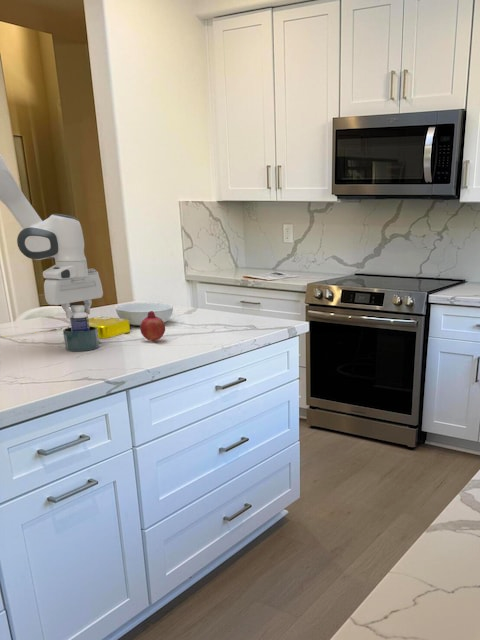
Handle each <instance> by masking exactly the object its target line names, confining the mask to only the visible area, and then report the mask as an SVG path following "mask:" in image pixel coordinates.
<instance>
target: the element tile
mask: <svg viewBox="0 0 480 640" xmlns="http://www.w3.org/2000/svg"><path fill="white" fill-rule="evenodd" d="M88 320H89V326H91V327H96V328H97V331H98V339H99V340H100V339H101V340H102V339H103V340H104V339H110V338H113V337H117V336H119V335H123V334H124V335H125V334H127V333H128V334H129V333H130V332H131V324H130V323H129V320H128V319H120V318H119V317H118V318H117V317H109V316H103V315H98V316H94V317H88Z"/></svg>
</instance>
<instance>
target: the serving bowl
mask: <svg viewBox="0 0 480 640" xmlns="http://www.w3.org/2000/svg"><path fill="white" fill-rule="evenodd" d="M115 311H116V315H117V316H118V318H120V319H128V320H129V323H130V326H131V325H132V326H136V327H141V323H142V321H143V320H144V319H145V318H146V317H147V316H148V312H150V311H153V312H154V314H155V316H156V317H159V318H160V319H162V321H163V322H164V323H166V322H168V321H169V320H170V318H171V317H172V315H173V311H174V306H173V305H172V304H169V303H163V302H155V301H154V302H153V301H152V302H150V301H147V302H145V301H143V302H131V303H124V304H119V305H117V306H115Z"/></svg>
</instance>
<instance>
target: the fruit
mask: <svg viewBox="0 0 480 640" xmlns="http://www.w3.org/2000/svg"><path fill="white" fill-rule="evenodd" d="M139 327H140V333H141V335H142V337H143V338H145V339H146V340H148V341H152V342H155V341H158V340H161V338H163V336H164V334H165V333H166V324H165V322H163V321H162V319H160V318H159V317H156V316H155V314H154V312H153V311H150V312H148V316H147V317H146V318H145V319H144V320H143V321H142V323H141V326H139Z"/></svg>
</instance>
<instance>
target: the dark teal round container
mask: <svg viewBox="0 0 480 640" xmlns="http://www.w3.org/2000/svg"><path fill="white" fill-rule="evenodd" d="M89 328H90V331H83V332H72V330H71V326H70V327H66V328H64V329H62V332H63V339H64V345H65V346H64V347H65V350H66V351H68V352H88V351H94V350H97V349H99V348H100V341H99V340H100V339H99V338H98V331H97V328H96V327H91V326H89Z"/></svg>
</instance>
